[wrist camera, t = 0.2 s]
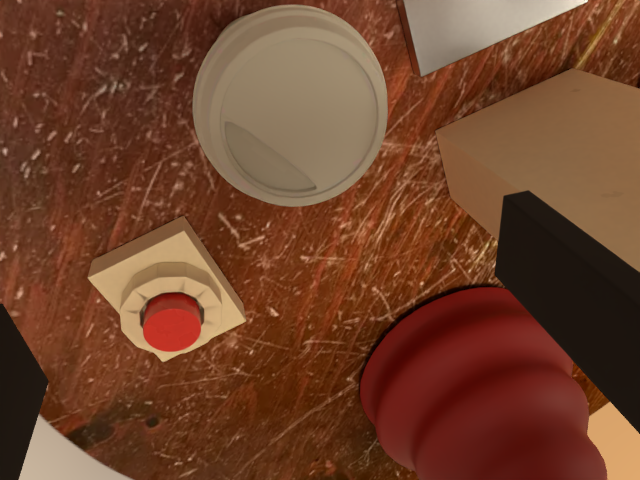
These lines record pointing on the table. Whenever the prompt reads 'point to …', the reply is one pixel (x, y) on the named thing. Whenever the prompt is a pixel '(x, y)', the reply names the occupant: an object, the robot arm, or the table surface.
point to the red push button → (172, 322)
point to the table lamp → (479, 394)
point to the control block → (166, 282)
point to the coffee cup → (290, 105)
